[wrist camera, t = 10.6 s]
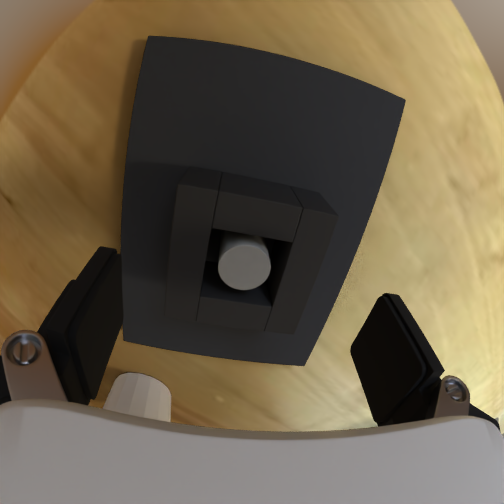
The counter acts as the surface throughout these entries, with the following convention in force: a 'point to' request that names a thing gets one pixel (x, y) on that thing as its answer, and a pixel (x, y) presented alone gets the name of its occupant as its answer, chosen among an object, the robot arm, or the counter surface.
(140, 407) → the white short cylinder
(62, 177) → the counter surface
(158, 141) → the base pad
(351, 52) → the counter surface
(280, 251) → the black square frame
